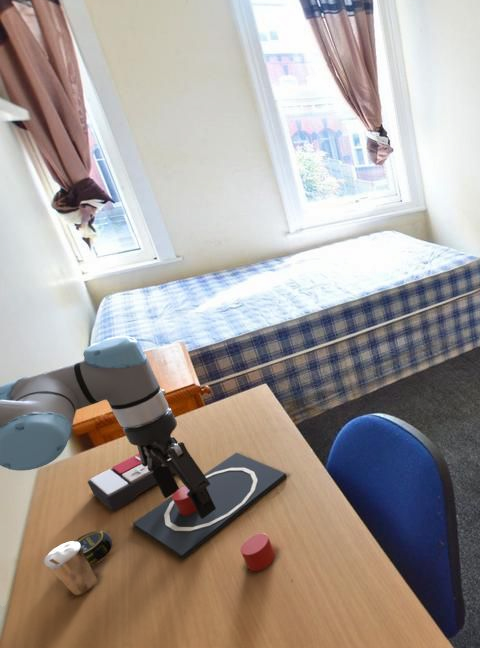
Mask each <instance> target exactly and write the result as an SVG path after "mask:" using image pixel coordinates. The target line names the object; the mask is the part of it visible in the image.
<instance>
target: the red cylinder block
mask: <svg viewBox="0 0 480 648" xmlns="http://www.w3.org/2000/svg"><path fill="white" fill-rule="evenodd" d="M188 492H189V490H188V488H187V487H186V486H185V485H183V486H181V487H179V489H178V490H177V491H176V492H175V493H173V494H172V496H173V497H172V496H171V497H172V498H173V500H174V502H175V504H176V506H177V508H178V510H179V512H180V514H182V515H189V514H192V513H194V512H196V511H197V510H196V508H195V506H194V504H193V502H192V500H191V498H190V496H189V497H188V496H187V493H188Z"/></svg>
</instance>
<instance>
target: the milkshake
mask: <svg viewBox="0 0 480 648" xmlns="http://www.w3.org/2000/svg"><path fill="white" fill-rule="evenodd" d="M43 563H44V565H45V567H47V568H48V569H49V571H51V572H52V573H53V574H54V575H55V576H56V577H57V578H58V579H59V580H60V581H61V582H62V583H63V584H64V586H65V587H66V588H67V589H68V590H69V591H70V592H71V593H72V595H75V596H79V595H82V594H84V593H86V592H88V591H90V590H91V589H92V588H93V587H94V586H95V585H96V583H97V577H96V575H95V573H94V570H93V569H92V566H90V565H89V563H88V561H87V559H86V557H85V555H84V552H83V550H82V548H81V545H80V543H79V542H74V541H67V542H65V543H61V544H60V545H58V546H57V547H55V548H53V549H52V550H51V551H50V552H49V553H48V554H47V555H46V556H45V558H44V562H43Z"/></svg>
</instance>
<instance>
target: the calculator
mask: <svg viewBox="0 0 480 648" xmlns="http://www.w3.org/2000/svg"><path fill="white" fill-rule="evenodd" d="M169 460H171V458H170V459H169ZM169 460H167V461H169ZM162 466H164V465H162ZM169 469H170V471H171V473H172V475H173V476H174V475H176V474H175V473H174V472H173V470H172V469H171V468H170V467H169ZM152 473H153V471H152V472H150V471H149V470H148V466H146V467H144V466H143V465H142V462H141V458H140V455H139V453H137V454H134V455H133V456H131V457H128V458H127V459H125V460H123V461H121V462H119V463H117V464H115V465H113V466H112V467H111V468H110V469H107V470H104V471H103V472H101V473H99V474H97V475H95V476H94V477H92V478H90V479H88V480H87V484H88V486H89V488H90V490H91V492H92V494H93V495H94V496H95V497H96V498H97V499H98V500H100V501H101V502H102V504H104V505H105V506H106V507H107V508H109V510H110V511H112V512H113V511H114V512H115V511H116V510H118V509H120V508H121V507H123V506H125V505H127V504H128V503H130V502H133V501H134V500H135V499H136V497H137V496H138V495H141V493H143V492H145V491H146V490H147V491H148V490H149V489H151V488H152V487H155V486H156V485H157V483H156V481H155V479H154V477H153V475H152Z"/></svg>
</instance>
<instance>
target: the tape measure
mask: <svg viewBox="0 0 480 648" xmlns="http://www.w3.org/2000/svg"><path fill="white" fill-rule="evenodd" d="M73 542H79V543H80V545H81V548H82V550H83V552H84V555H85V557H86V559H87V561H88V563H89V565H90V567H92V566H94V565H96V564H98V563H99V562H101V561H102V560H103V559H105V557H107V555H108V554H109V553H110V552H111V550H112V548H113V542H114V541H113V539H112V537H111V536H110V534H109V533H108V532H106V531H104V530H100V529H97V530H93V531H90V532H89V531H88V532H87V533H85V534H83V535H81V536H79V537H78V538H76V539H75V540H73Z"/></svg>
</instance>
